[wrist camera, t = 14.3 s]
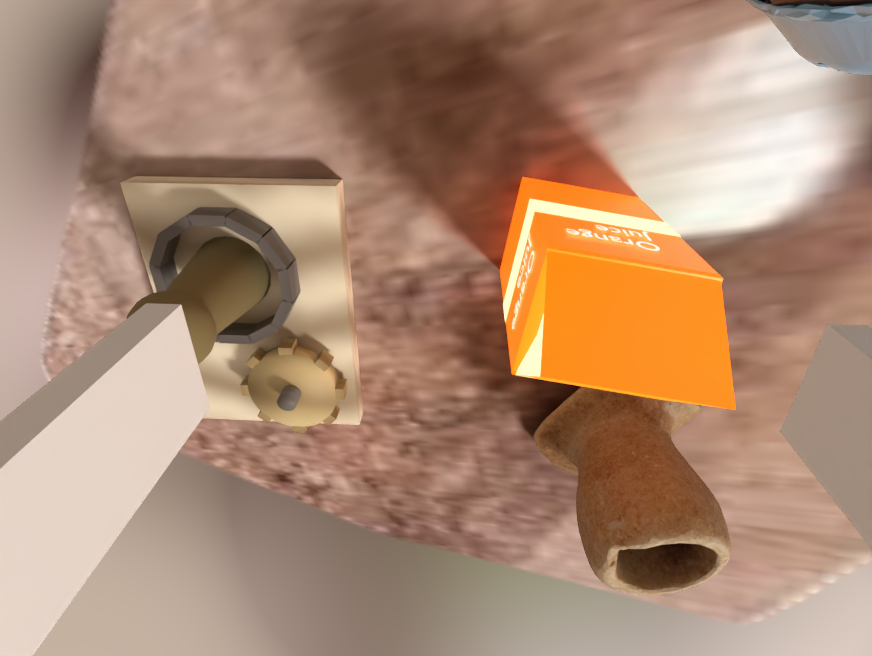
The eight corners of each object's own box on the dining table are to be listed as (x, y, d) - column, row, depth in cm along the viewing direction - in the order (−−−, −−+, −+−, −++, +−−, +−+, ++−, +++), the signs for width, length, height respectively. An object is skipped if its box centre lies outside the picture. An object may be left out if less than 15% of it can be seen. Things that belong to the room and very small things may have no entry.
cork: (203, 305, 42) (123, 384, 32) (186, 234, 39) (92, 298, 29) (275, 308, 41) (215, 389, 32) (264, 237, 38) (194, 303, 29)
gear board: (135, 176, 39) (88, 195, 34) (342, 179, 38) (323, 199, 33) (201, 404, 50) (172, 443, 45) (363, 411, 49) (351, 451, 44)
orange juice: (521, 174, 37) (564, 295, 19) (640, 195, 37) (787, 333, 20) (498, 272, 41) (516, 445, 23) (605, 290, 41) (702, 476, 24)
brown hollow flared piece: (600, 486, 52) (642, 637, 39) (515, 426, 48) (530, 568, 35) (729, 398, 45) (832, 543, 32) (641, 322, 42) (717, 449, 29)
